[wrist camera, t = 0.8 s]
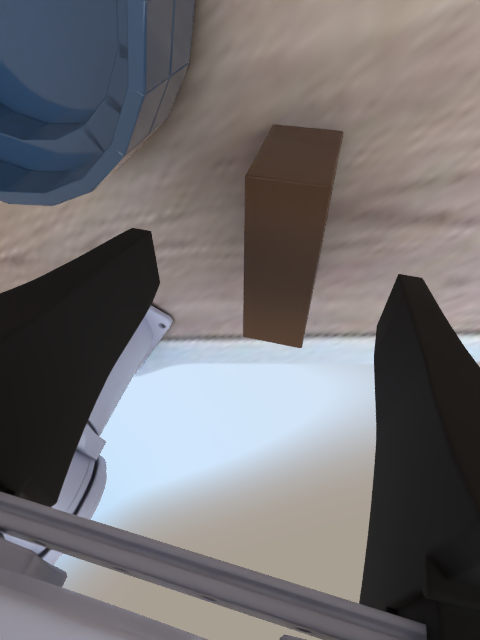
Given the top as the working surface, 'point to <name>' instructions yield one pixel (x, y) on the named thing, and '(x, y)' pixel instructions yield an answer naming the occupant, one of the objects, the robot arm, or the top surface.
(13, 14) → the bowl
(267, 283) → the bar
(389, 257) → the top surface
